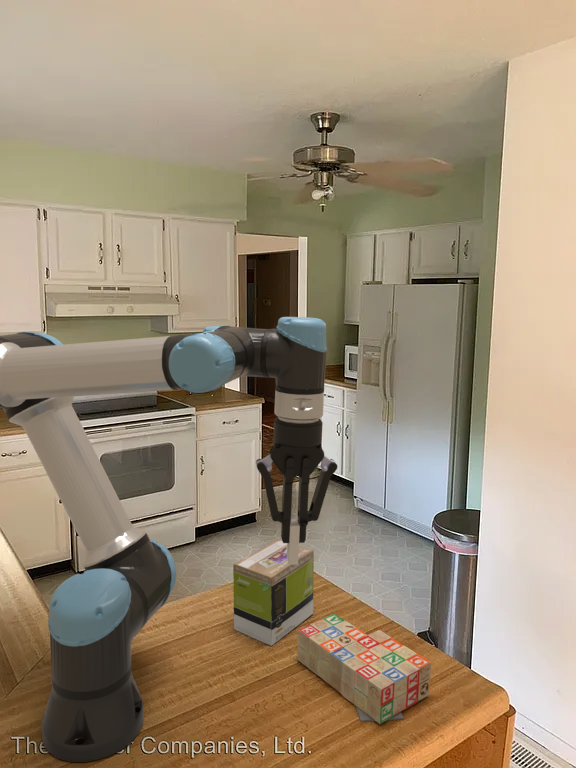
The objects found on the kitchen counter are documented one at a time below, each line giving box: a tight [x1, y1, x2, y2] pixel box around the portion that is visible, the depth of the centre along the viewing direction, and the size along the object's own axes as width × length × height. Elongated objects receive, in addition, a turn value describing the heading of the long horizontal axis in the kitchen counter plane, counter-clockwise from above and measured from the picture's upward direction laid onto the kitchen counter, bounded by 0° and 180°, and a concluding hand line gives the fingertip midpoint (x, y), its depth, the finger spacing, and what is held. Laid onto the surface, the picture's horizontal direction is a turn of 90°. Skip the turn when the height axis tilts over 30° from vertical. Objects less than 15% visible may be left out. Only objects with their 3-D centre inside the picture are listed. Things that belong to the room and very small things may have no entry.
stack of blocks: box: [296, 613, 432, 725], centre depth 107 cm, size 21×6×12 cm
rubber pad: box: [354, 705, 404, 723], centre depth 102 cm, size 7×12×1 cm, turn 7°
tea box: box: [232, 538, 315, 647], centre depth 123 cm, size 15×10×15 cm, turn 144°
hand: (292, 560), depth 97 cm, fingers closed
